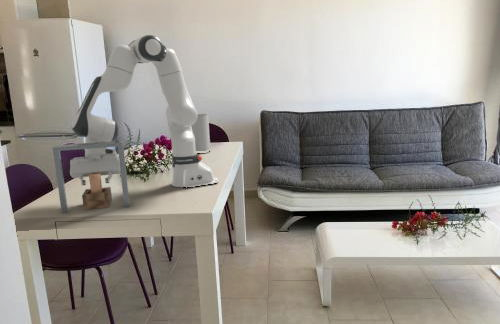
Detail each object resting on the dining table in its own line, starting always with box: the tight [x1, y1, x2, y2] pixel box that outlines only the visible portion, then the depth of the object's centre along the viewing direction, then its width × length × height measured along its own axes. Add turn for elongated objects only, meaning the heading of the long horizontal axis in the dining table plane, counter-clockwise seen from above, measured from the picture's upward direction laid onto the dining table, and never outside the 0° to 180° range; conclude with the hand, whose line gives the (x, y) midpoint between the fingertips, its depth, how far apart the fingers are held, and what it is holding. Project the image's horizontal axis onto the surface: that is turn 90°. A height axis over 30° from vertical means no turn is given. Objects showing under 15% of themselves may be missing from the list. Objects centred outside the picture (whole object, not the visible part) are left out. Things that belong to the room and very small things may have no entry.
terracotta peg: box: [88, 173, 103, 194], centre depth 180 cm, size 4×4×12 cm
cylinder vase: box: [191, 113, 211, 151], centre depth 288 cm, size 12×12×25 cm
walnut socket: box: [81, 186, 113, 211], centre depth 180 cm, size 10×10×6 cm
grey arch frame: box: [52, 140, 131, 214], centre depth 174 cm, size 26×6×26 cm, turn 102°
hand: (95, 183), depth 178 cm, fingers open, 8 cm apart
